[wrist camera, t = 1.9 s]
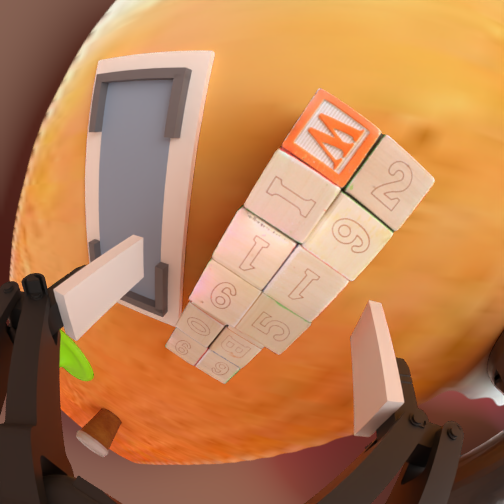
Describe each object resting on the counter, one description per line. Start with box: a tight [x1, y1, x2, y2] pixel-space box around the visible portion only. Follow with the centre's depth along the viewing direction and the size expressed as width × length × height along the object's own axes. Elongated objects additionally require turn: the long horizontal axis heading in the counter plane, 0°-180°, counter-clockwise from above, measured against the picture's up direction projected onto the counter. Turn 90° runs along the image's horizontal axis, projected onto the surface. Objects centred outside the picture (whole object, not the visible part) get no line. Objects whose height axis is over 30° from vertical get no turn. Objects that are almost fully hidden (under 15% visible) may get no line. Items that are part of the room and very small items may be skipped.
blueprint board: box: [85, 51, 215, 327], centre depth 26 cm, size 14×30×2 cm, turn 169°
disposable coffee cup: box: [76, 409, 121, 457], centre depth 49 cm, size 10×10×12 cm
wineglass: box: [59, 330, 94, 381], centre depth 39 cm, size 16×16×18 cm
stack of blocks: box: [165, 88, 435, 384], centre depth 19 cm, size 21×6×12 cm, turn 148°
